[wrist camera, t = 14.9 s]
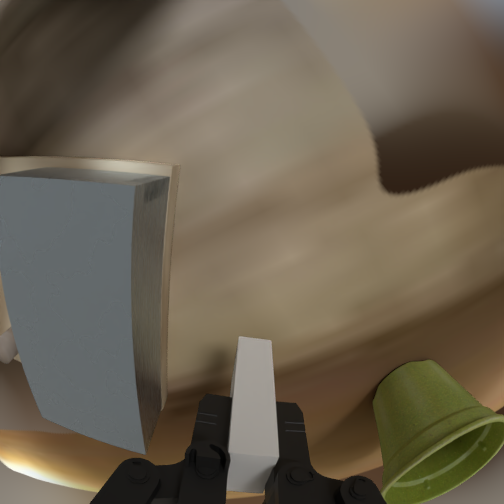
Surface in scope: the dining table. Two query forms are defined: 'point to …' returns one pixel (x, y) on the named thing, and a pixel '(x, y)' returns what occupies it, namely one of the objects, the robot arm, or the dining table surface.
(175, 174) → the cradle
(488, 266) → the dining table surface
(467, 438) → the plant pot
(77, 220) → the block
